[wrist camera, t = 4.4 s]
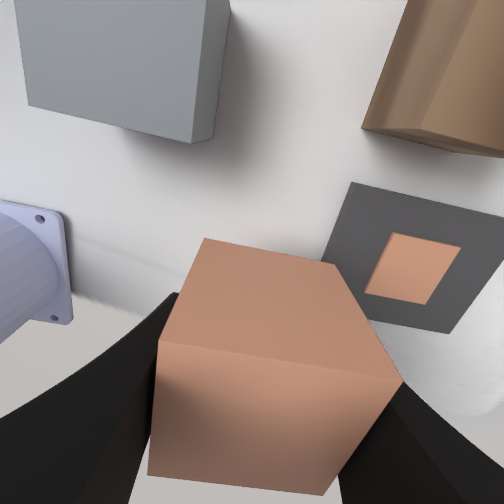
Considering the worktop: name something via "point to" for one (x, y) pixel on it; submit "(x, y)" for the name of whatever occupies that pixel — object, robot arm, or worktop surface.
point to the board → (413, 256)
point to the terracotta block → (265, 373)
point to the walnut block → (444, 78)
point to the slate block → (127, 62)
